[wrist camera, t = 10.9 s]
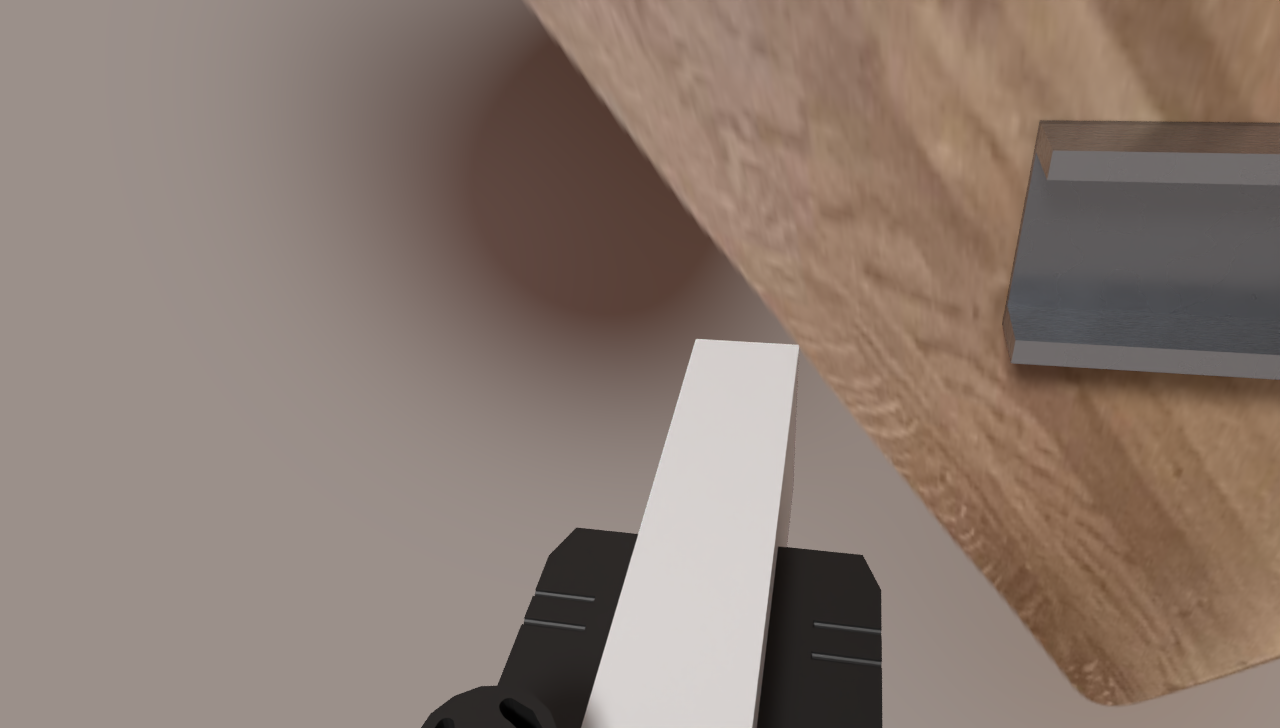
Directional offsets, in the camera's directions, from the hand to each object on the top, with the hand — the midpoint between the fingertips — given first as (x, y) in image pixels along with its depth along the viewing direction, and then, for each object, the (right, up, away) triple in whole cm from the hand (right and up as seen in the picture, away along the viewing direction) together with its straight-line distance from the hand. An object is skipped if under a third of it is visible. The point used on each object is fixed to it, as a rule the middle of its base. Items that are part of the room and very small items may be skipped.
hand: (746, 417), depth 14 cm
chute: (+27, +6, +24) cm, 37 cm away
